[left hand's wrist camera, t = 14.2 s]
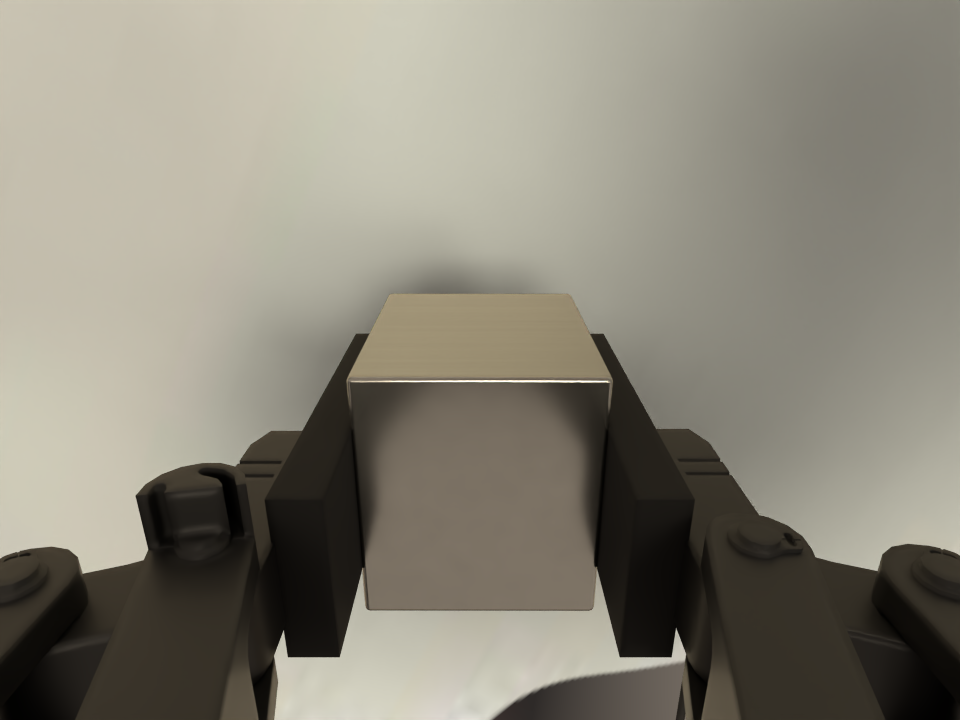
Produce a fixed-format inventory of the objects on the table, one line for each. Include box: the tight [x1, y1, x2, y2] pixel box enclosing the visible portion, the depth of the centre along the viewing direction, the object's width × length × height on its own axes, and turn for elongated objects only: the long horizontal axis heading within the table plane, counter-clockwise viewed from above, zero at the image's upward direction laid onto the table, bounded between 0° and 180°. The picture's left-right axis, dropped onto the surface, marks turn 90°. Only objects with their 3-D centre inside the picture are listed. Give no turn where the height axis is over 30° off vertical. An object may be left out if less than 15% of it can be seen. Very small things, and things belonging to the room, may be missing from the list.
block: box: [347, 294, 613, 611], centre depth 13 cm, size 4×5×5 cm
